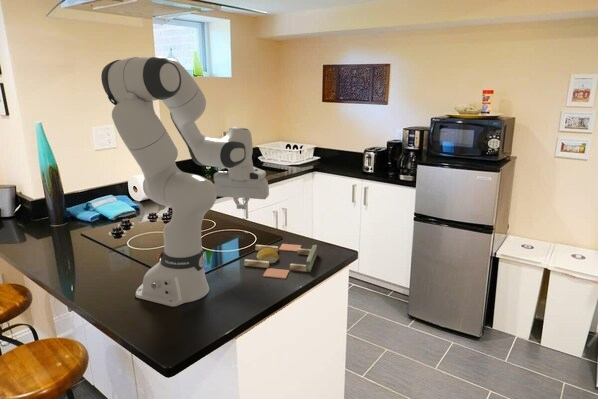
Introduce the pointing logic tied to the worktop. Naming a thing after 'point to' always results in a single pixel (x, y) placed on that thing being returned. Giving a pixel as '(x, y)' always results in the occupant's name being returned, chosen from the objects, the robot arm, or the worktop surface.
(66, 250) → the worktop surface
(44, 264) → the worktop surface
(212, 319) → the worktop surface
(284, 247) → the trap pads
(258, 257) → the bread roll
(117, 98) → the robot arm
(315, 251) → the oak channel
